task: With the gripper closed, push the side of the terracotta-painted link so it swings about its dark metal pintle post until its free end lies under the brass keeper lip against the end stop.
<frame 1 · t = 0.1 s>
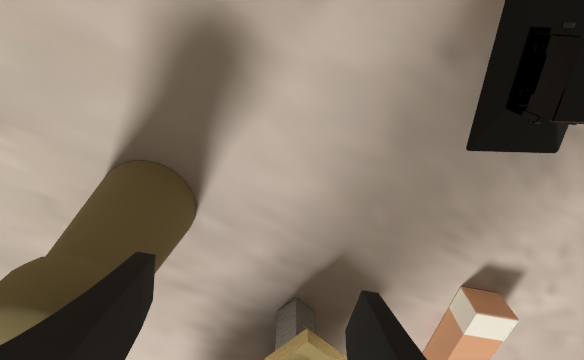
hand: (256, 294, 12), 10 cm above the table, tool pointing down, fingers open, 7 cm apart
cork: (149, 202, 22), on the table
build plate: (530, 67, 19), on the table
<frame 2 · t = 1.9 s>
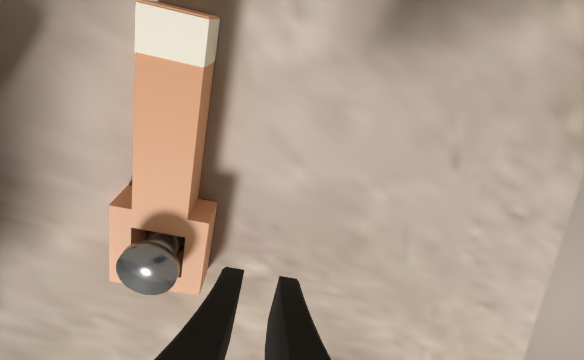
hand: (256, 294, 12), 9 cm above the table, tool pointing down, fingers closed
link: (169, 165, 19), point 1 cm above the table, hinge at 0.0°
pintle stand: (170, 230, 22), on the table
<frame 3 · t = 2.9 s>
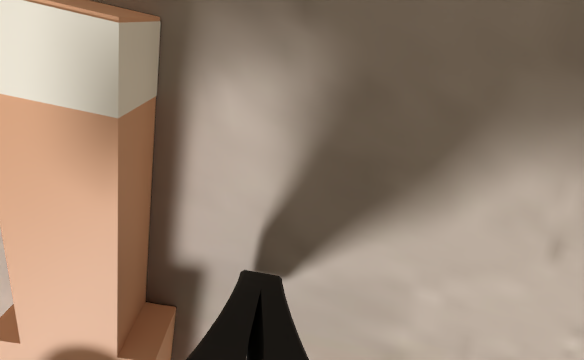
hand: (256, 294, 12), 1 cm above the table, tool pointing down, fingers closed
link: (86, 267, 11), point 1 cm above the table, hinge at 0.0°
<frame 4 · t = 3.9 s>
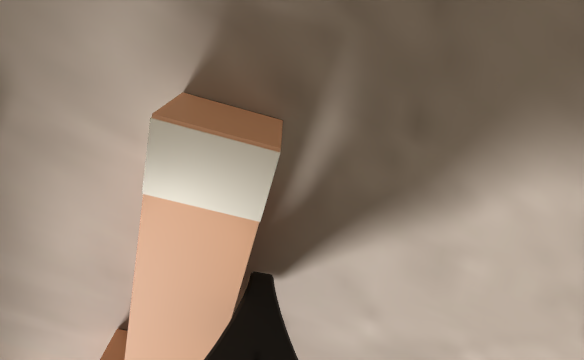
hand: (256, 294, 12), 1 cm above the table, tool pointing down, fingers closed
link: (183, 324, 12), point 1 cm above the table, hinge at 1.4°, touching gripper
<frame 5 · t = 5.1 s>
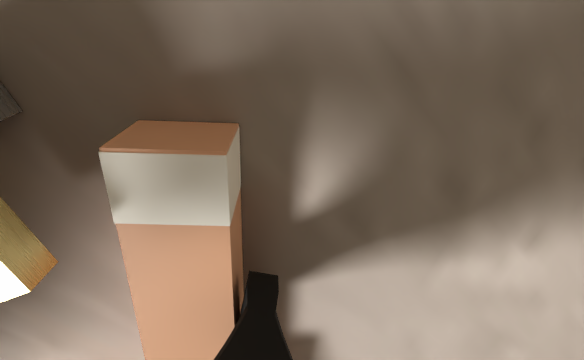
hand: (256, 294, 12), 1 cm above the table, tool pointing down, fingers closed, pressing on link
link: (199, 338, 13), point 1 cm above the table, hinge at 33.7°, touching gripper
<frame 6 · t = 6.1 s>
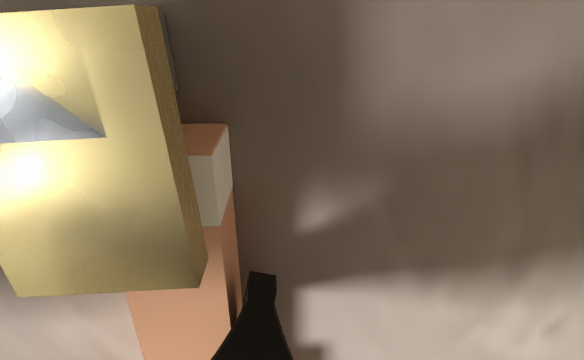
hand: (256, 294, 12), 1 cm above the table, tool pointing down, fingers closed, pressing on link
link: (198, 338, 13), point 1 cm above the table, hinge at 54.7°, touching gripper
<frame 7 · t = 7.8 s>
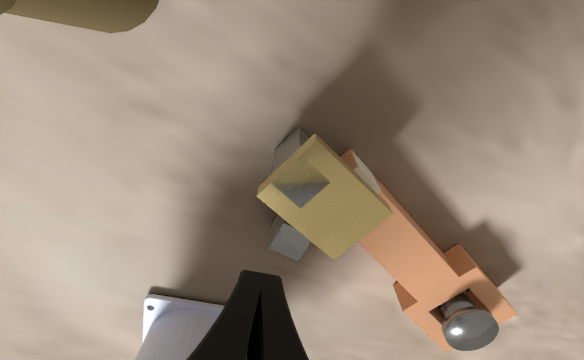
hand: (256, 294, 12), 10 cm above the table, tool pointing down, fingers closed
link: (410, 255, 22), point 1 cm above the table, hinge at 55.1°
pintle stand: (445, 286, 25), on the table
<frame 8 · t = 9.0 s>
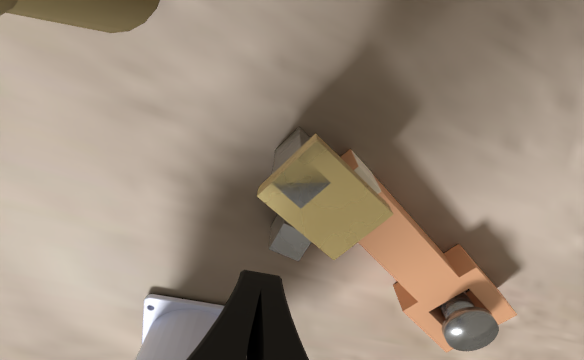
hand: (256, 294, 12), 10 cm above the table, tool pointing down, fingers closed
link: (410, 255, 22), point 1 cm above the table, hinge at 55.1°
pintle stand: (445, 287, 25), on the table
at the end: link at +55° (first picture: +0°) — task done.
